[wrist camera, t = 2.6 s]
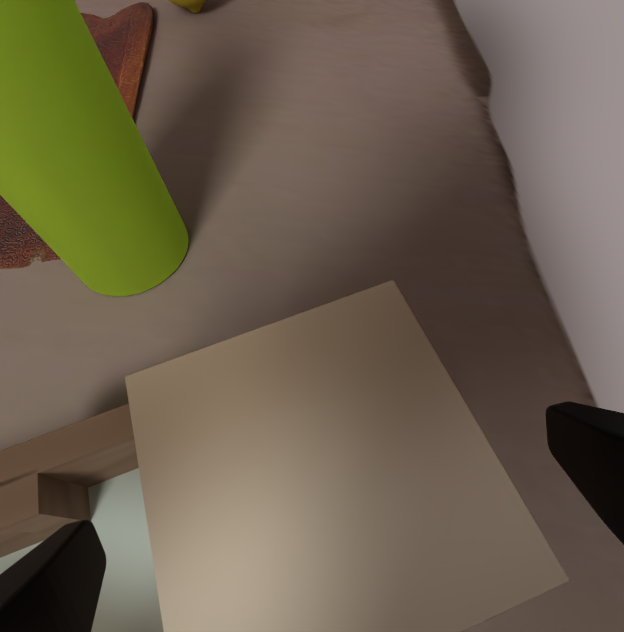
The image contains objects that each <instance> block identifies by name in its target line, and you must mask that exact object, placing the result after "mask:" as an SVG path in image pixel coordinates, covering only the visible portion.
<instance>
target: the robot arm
mask: <svg viewBox="0 0 624 632" xmlns="http://www.w3.org/2000/svg"><path fill="white" fill-rule="evenodd" d="M546 426H547V439H548V446H549V449H550V451H551V453H552V455H553V457H554V458H555V459H556V461H557V462H558V463H559V465H560V466H561V467H562V468H563V470H564V471H565V472H566V474H567V475H568V476H569V478H570V479H571V480H572V482H573V483H574V484H575V486H576V487H577V488H578V490H579V491H580V492H581V494H582V495H583V496H584V497H585V499H586V500H587V501H588V503H589V504H590V505H591V507H592V508H593V509H594V511H595V512H596V513H597V514H598V516H599V517H600V518H601V519H602V521H603V522H604V523H605V524H606V525H607V527H608V528H609V529H610V530H611V531H612V532H613V533H614V534H615V536H616V537H617V538H618V539H619V540H620V541H621V542H622V543H623V544H624V413H620V412H615V411H611V410H606V409H601V408H597V407H592V406H588V405H583V404H578V403H574V402H563V403H559V404H555V405H551V406H549V407H548V408H547V410H546ZM105 570H106V554H105V551H104V548H103V546H102V544H101V541H100V539H99V536H98V534H97V532H96V529H95V527H94V525H93V523H92V522H91V521H90V520H87V519H84V520H80V521H76V522H72V523H68V524H65V525H64V526H62V527H61V528H60V529H58V530H57V531H56V532H54V533H53V534H52V535H51V536H49V537H48V538H47V539H45V540H44V541H43V542H41V543H40V544H39V545H38V546H36V547H35V548H34V549H32V550H31V551H30V552H29V553H27V554H26V555H25V556H23V557H22V558H21V559H19V560H18V561H17V562H16V563H14V564H13V565H12V566H10V567H9V568H8V569H6V570H5V571H4V572H3V573H1V574H0V632H91V631H92V626H93V622H94V618H95V613H96V609H97V604H98V600H99V596H100V591H101V587H102V583H103V578H104V574H105Z"/></svg>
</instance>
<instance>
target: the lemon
mask: <svg viewBox="0 0 624 632" xmlns="http://www.w3.org/2000/svg"><path fill="white" fill-rule="evenodd" d="M169 1H170V2H172V3H173V4H175V5H178V6H181V7H186V8H187V9H189V10H190V11H191V12H193V13H197V12H199V11H200V10H201V7H202V5H203V3H204V2H206V1H207V0H169Z"/></svg>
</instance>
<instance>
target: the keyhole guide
mask: <svg viewBox="0 0 624 632" xmlns="http://www.w3.org/2000/svg"><path fill="white" fill-rule="evenodd" d="M84 519H87V520H90V521H91V522H92V523H93V525H94V527H95V529H96V532H97V534H98V536H99V539H100V541H101V544H102V546H103V548H104V551H105V554H106V570H105V574H104V578H103V583H102V587H101V591H100V596H99V600H98V604H97V609H96V613H95V618H94V622H93V626H92V631H91V632H164V630H163V624H162V617H161V611H160V604H159V598H158V591H157V584H156V578H155V571H154V565H153V558H152V551H151V545H150V538H149V532H148V525H147V519H146V512H145V505H144V499H143V492H142V486H141V479H140V473H139V466H138V459H137V453H136V446H135V440H134V433H133V427H132V420H131V413H130V407H129V404H126V405H123V406H121V407H118V408H115V409H112V410H110V411H107V412H104V413H102V414H99V415H96V416H93V417H91V418H88V419H85V420H83V421H80V422H77V423H75V424H72V425H69V426H66V427H64V428H61V429H58V430H56V431H53V432H50V433H47V434H45V435H42V436H39V437H37V438H34V439H31V440H29V441H26V442H23V443H20V444H18V445H15V446H12V447H10V448H7V449H4V450H1V451H0V574H1V573H3V572H4V571H5V570H6V569H8V568H9V567H10V566H12V565H13V564H14V563H16V562H17V561H18V560H19V559H21V558H22V557H23V556H25V555H26V554H27V553H29V552H30V551H31V550H32V549H34V548H35V547H36V546H38V545H39V544H40V543H41V542H43V541H44V540H45V539H47V538H48V537H49V536H51V535H52V534H53V533H54V532H56V531H57V530H58V529H60V528H61V527H62V526H64V525H65V524H68V523H72V522H76V521H80V520H84Z"/></svg>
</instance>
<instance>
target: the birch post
mask: <svg viewBox="0 0 624 632" xmlns="http://www.w3.org/2000/svg"><path fill="white" fill-rule="evenodd" d="M125 380H126V387H127V394H128V400H129V407H130V413H131V420H132V427H133V433H134V440H135V446H136V453H137V459H138V466H139V473H140V479H141V486H142V492H143V499H144V505H145V512H146V519H147V525H148V532H149V538H150V545H151V551H152V558H153V565H154V571H155V578H156V584H157V591H158V598H159V604H160V611H161V617H162V624H163V630H164V632H462V631H464V630H466V629H468V628H470V627H473V626H475V625H477V624H479V623H481V622H483V621H485V620H487V619H490V618H492V617H494V616H496V615H498V614H500V613H502V612H504V611H506V610H509V609H511V608H513V607H515V606H517V605H519V604H521V603H523V602H526V601H528V600H530V599H532V598H534V597H536V596H538V595H540V594H542V593H545V592H547V591H549V590H551V589H553V588H555V587H557V586H559V585H562V584H564V583H566V582H568V581H570V580H569V579H568V577H567V575H566V574H565V572H564V570H563V568H562V567H561V565H560V563H559V562H558V560H557V558H556V557H555V555H554V553H553V551H552V550H551V548H550V546H549V545H548V543H547V541H546V539H545V538H544V536H543V534H542V533H541V531H540V529H539V528H538V526H537V524H536V522H535V521H534V519H533V517H532V516H531V514H530V512H529V511H528V509H527V507H526V505H525V504H524V502H523V500H522V499H521V497H520V495H519V493H518V492H517V490H516V488H515V487H514V485H513V483H512V482H511V480H510V478H509V476H508V475H507V473H506V471H505V470H504V468H503V466H502V464H501V463H500V461H499V459H498V458H497V456H496V454H495V453H494V451H493V449H492V447H491V446H490V444H489V442H488V441H487V439H486V437H485V436H484V434H483V432H482V430H481V429H480V427H479V425H478V424H477V422H476V420H475V418H474V417H473V415H472V413H471V412H470V410H469V408H468V407H467V405H466V403H465V401H464V400H463V398H462V396H461V395H460V393H459V391H458V390H457V388H456V386H455V384H454V383H453V381H452V379H451V378H450V376H449V374H448V372H447V371H446V369H445V367H444V366H443V364H442V362H441V361H440V359H439V357H438V355H437V354H436V352H435V350H434V349H433V347H432V345H431V344H430V342H429V340H428V338H427V337H426V335H425V333H424V332H423V330H422V328H421V326H420V325H419V323H418V321H417V320H416V318H415V316H414V315H413V313H412V311H411V309H410V308H409V306H408V304H407V303H406V301H405V299H404V298H403V296H402V294H401V292H400V291H399V289H398V287H397V286H396V284H395V282H394V280H391V281H388V282H385V283H382V284H380V285H377V286H374V287H371V288H368V289H366V290H363V291H360V292H357V293H355V294H352V295H349V296H346V297H344V298H341V299H338V300H335V301H333V302H330V303H327V304H324V305H322V306H319V307H316V308H313V309H310V310H308V311H305V312H302V313H299V314H297V315H294V316H291V317H288V318H286V319H283V320H280V321H277V322H275V323H272V324H269V325H266V326H264V327H261V328H258V329H255V330H252V331H250V332H247V333H244V334H241V335H239V336H236V337H233V338H230V339H228V340H225V341H222V342H219V343H217V344H214V345H211V346H208V347H206V348H203V349H200V350H197V351H195V352H192V353H189V354H186V355H183V356H181V357H178V358H175V359H172V360H170V361H167V362H164V363H161V364H159V365H156V366H153V367H150V368H148V369H145V370H142V371H139V372H137V373H134V374H131V375H128V376H125Z"/></svg>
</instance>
